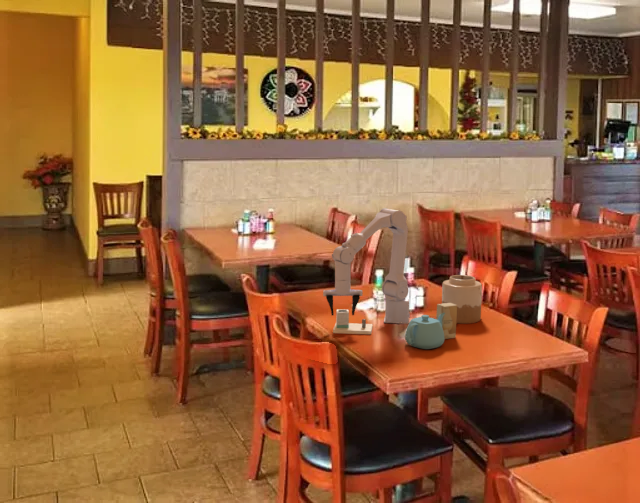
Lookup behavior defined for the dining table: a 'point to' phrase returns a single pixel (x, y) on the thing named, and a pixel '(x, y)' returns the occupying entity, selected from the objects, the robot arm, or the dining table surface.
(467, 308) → the vase
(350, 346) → the dining table surface
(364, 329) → the pin board
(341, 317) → the teal banded block
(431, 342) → the teapot
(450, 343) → the dining table surface
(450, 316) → the skincare box
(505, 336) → the dining table surface
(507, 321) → the dining table surface
